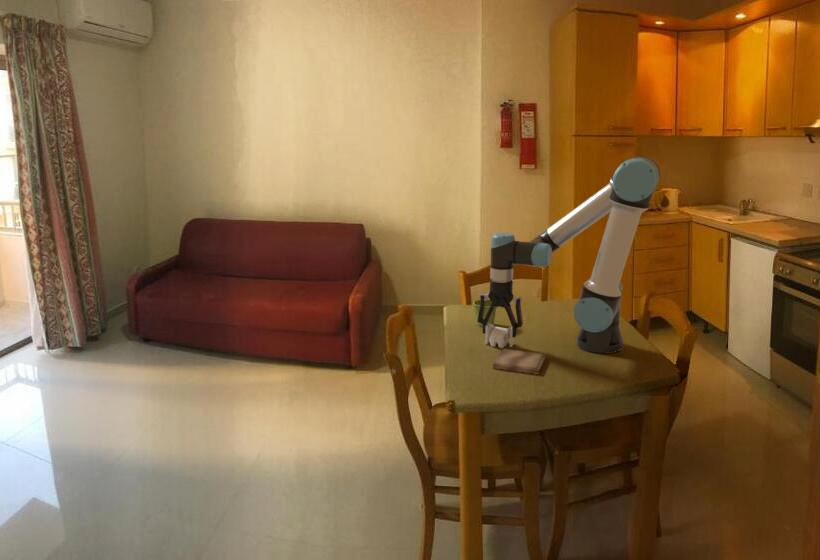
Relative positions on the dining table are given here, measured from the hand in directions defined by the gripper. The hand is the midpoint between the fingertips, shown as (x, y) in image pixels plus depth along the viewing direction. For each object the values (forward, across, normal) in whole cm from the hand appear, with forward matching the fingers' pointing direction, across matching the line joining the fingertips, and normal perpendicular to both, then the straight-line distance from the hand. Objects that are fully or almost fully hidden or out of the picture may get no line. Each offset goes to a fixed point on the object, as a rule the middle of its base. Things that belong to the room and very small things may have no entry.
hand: (499, 344), depth 216 cm
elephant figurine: (+1, 0, 0) cm, 1 cm away
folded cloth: (0, -10, +14) cm, 17 cm away
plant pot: (+1, +10, -19) cm, 21 cm away
